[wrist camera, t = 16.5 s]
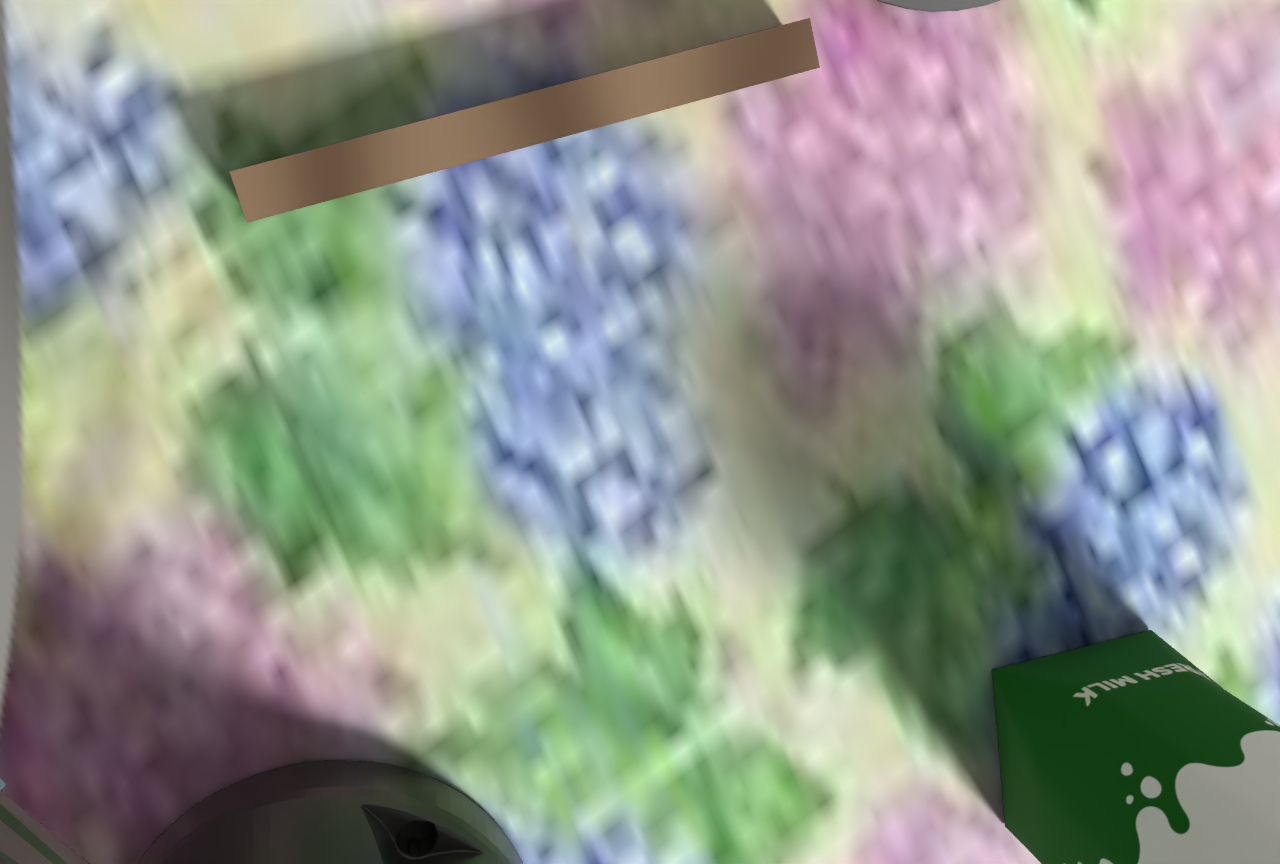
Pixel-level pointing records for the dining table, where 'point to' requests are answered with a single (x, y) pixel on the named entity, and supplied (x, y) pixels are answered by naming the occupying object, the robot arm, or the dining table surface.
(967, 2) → the mat
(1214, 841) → the milk carton
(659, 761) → the dining table surface
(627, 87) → the chute
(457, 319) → the dining table surface
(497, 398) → the dining table surface
